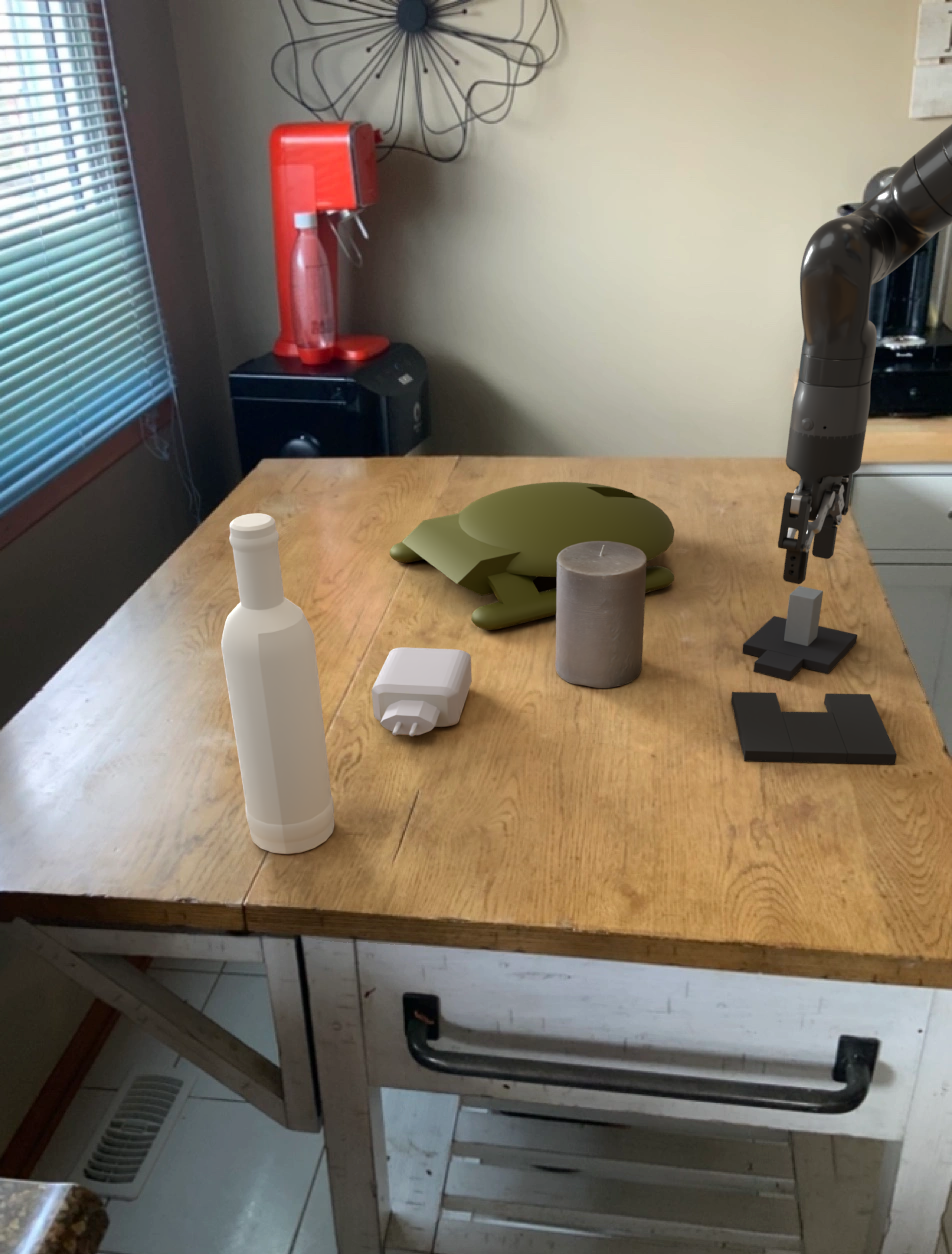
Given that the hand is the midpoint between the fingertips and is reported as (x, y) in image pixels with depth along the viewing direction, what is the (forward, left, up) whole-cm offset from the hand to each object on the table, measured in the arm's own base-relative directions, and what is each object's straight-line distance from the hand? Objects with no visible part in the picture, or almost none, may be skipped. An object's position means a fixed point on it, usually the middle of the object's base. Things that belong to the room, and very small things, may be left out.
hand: (808, 569), depth 125 cm
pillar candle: (+23, +6, -10) cm, 26 cm away
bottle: (+51, +39, -10) cm, 65 cm away
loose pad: (+1, +1, -10) cm, 10 cm away
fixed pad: (+2, +19, -10) cm, 21 cm away
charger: (+42, +18, -10) cm, 47 cm away
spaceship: (+30, -24, -10) cm, 40 cm away
